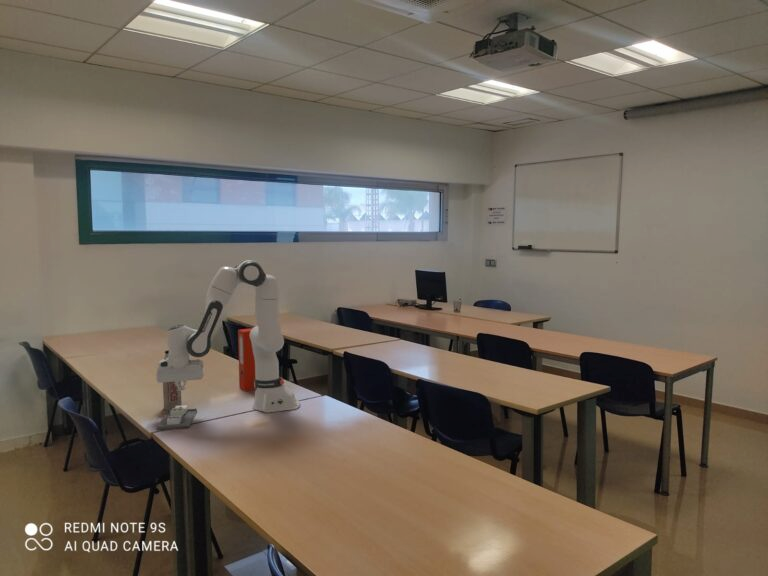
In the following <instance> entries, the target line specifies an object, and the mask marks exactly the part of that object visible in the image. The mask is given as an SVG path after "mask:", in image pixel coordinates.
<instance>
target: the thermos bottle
mask: <svg viewBox="0 0 768 576" xmlns="http://www.w3.org/2000/svg"><path fill="white" fill-rule="evenodd" d="M168 354H169V349H167V350H165V351H164V357H163V358H162V359H165V358H168ZM181 383H182V381H179V382H178V384H179V385H180V386H182V385H181ZM162 392H163V393H162V395H163V397H162V398H163V409H164V411H167V410H172V408H175V407H176V406H183V405H182V390H179V391H178V387H177V386H176V385H175V381H174V382H162Z"/></svg>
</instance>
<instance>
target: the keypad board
mask: <svg viewBox="0 0 768 576" xmlns="http://www.w3.org/2000/svg"><path fill="white" fill-rule="evenodd" d="M187 409H188V410H187V412H186V414H183V416H181V419H182V421H181V423H180V424H172V425H167V419H168V417H169V416H170V411H171V410H166V411H167V412H166V413H165V415H164V416H163V417H162V419H161V421H160V422H159V423H158V425H156V431H165V430H166V431H167V430H177V429H178V430H181V429H190V427H191V425H192V423H193V421H194V419H195V416H196V415H197V412H198V408H197V407H196V408H187Z"/></svg>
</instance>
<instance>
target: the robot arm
mask: <svg viewBox="0 0 768 576" xmlns="http://www.w3.org/2000/svg"><path fill="white" fill-rule="evenodd" d="M242 283H244V284H246V285H250V286H252V287H253V288H254V291H255V293H254V295H255V297H254V315H255V319H256V322H257V325H255V326H253V327H252V328H253V329H252V330H251V331H250V340H251V343H252V349H253V354H254V359H255V376H256V378H255V381H254V385H255V389H254V401H253V405H252V408H253V409H254V410H255V411H260V412H263V413H275V412H282V411H291V410H298V409H299V408H300V406H301V402H300V400H299V399H298V398H296V394H295V392H294V390H292V389H291V388H290V387H288V386H287V385H285V380H284V378H283V377H281V376H280V375H279V374H280V370H279V368H280V366H279V365H280V363H279V359H278V357H277V352H279V351H280V350H281V349H283V347H284V344H285V338H284V335H283V333H282V328H281V327H282V325H281V320H280V294H279V291H280V290H279V284H278V280H277V278H276V277H275V276H274V275H271V274H266V273H265V271H264V269H263V267H262V266H261V265H260V263H258V262H257V261H256V260H252V259H247V260H244V261H242V262H240V263H239V264H238V265H236V266H235V267H231V266H221V267H220V268H219V270H218V271H217V272H216V274H215V275H214V277H213V279H212V280H211V282H210V284H209V287H208V289H207V293H206V296H205V310H204V313H203V317H202V319H201V322H200V324H199V326H198V329H194V328H192V327H188V326H187V325H185V324H177V325H174V326H172V327H170V328H169V329H168V331H167V334H166V335H167V338H166V339H167V340H166V342H167V343H166V344H167V348H168V350H169V354H168V358H165V359H163V358H162V359H161V360H159V362H158V363H157V367H158V368H157V369H156V382H157V383H158V384H159V383H163V382H174V381H175V385H176V386H177V387H178V391H179V390H181V391H186V385H187V383H188V381H197V380H202V379H203V378H204V376H205V374H204V373H205V371H204V361H203V360H202V359H199V358H203V357H205V356H206V355H208V353H209V352H210V351H211V346H212V343H211V338H212V334H213V333H214V331H215V328H216V326H217V323H218V320H219V319H220V316H221V315H222V314H223V312H224V311H225V310H226V307H228V304H229V303H230V301H231V299H232V298H233V295H234V294H235V290H236V289H237V288H238V285H240V284H242ZM190 356H192V357H194V358H197V359H190ZM179 381H181V382H182V383H183V385H181V386H180V385H179V384H178V382H179Z"/></svg>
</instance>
